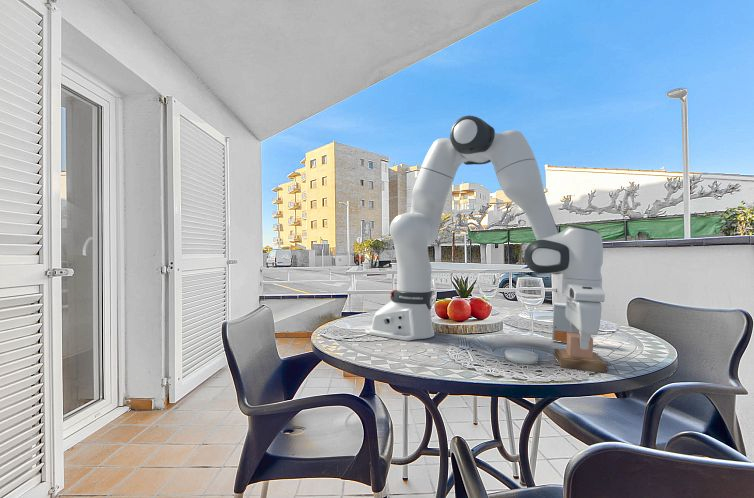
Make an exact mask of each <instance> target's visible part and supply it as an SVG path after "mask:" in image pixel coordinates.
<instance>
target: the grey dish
mask: <svg viewBox="0 0 754 498" xmlns="http://www.w3.org/2000/svg"><path fill="white" fill-rule="evenodd" d="M504 359H505V360H506V361H508V362H511V363H515V364H519V365H535V364H537V363H538V354H537V353H535V352H533V351H531V350H525V349H518V348H510V349H506V350H505V351H504ZM536 362H537V363H536Z"/></svg>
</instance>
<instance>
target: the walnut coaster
mask: <svg viewBox="0 0 754 498" xmlns="http://www.w3.org/2000/svg"><path fill="white" fill-rule="evenodd" d="M553 351H554V352H553V356H554V358H555V360H556V359H557V360H558V362H559V364H558V365H559V367H560V368H563V369H565V368H566V369H573V370H580V371H581V370H582V371H590V372H591V371H593V372H599V373H607V370H608V369H607V368H608V366H607V365H608V364H607V363H606V361H604V360H603V359H602V357H601V356H600V355H599V354H598V353H596V352H593V357H592V359H588V358H578V357H570V356H569V354H568V353H567V352H566V349H564V348H554V349H553ZM557 360H556V361H557ZM558 362H557V363H558Z"/></svg>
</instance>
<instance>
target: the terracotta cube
mask: <svg viewBox="0 0 754 498" xmlns="http://www.w3.org/2000/svg"><path fill="white" fill-rule="evenodd" d="M579 333H580V332H579ZM579 333H568V332H567V344H565V345H566V347H565V348H566V349H565V350H566V352H567V353H568V354H569V356H570V357H578V358H588V359H592V357H593V349H594V338H593V337H592V336H591V338H590V341H589V348H588V349H587V350H585V349H581V348H580V347H579V340H580V334H579Z"/></svg>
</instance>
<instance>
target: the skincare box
mask: <svg viewBox="0 0 754 498" xmlns="http://www.w3.org/2000/svg"><path fill="white" fill-rule="evenodd" d="M565 310H566V302H553V310H552V311H553V313H552V333H551V341H552V340H556V341H561V342H565V343H567V332H568V333H571V327H570V321H569V320H568V319H567V318H566V316H565Z"/></svg>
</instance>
